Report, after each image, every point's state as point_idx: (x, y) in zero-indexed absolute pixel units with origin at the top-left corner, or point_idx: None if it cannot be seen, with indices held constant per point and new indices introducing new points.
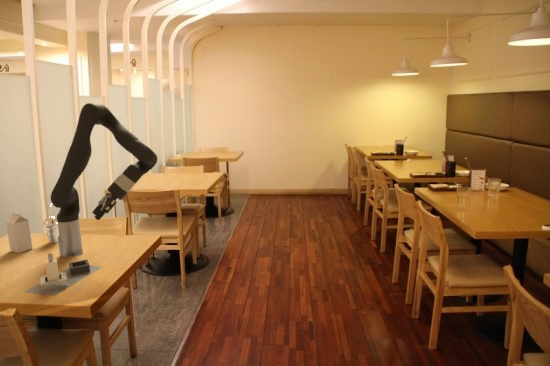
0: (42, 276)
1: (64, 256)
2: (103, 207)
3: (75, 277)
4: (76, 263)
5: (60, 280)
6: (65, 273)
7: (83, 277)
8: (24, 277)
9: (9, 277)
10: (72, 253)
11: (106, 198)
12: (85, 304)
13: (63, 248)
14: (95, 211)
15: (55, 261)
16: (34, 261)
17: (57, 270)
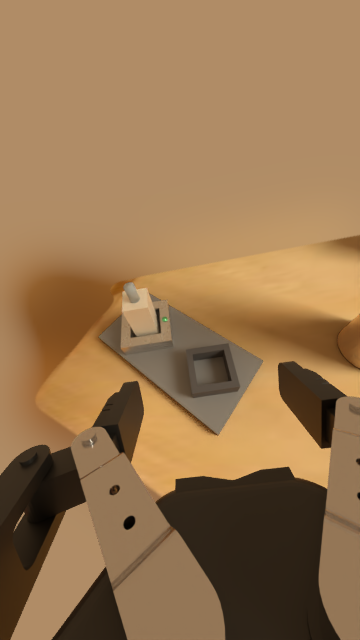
0: (165, 303)
1: (341, 331)
2: (75, 466)
3: (169, 365)
4: (226, 360)
5: (122, 336)
6: (158, 342)
7: (160, 383)
8: (232, 281)
9: (241, 262)
10: (345, 346)
11: (121, 604)
12: (40, 393)
13: (354, 319)
14: (289, 383)
15: (124, 308)
16: (321, 281)
17: (129, 322)
